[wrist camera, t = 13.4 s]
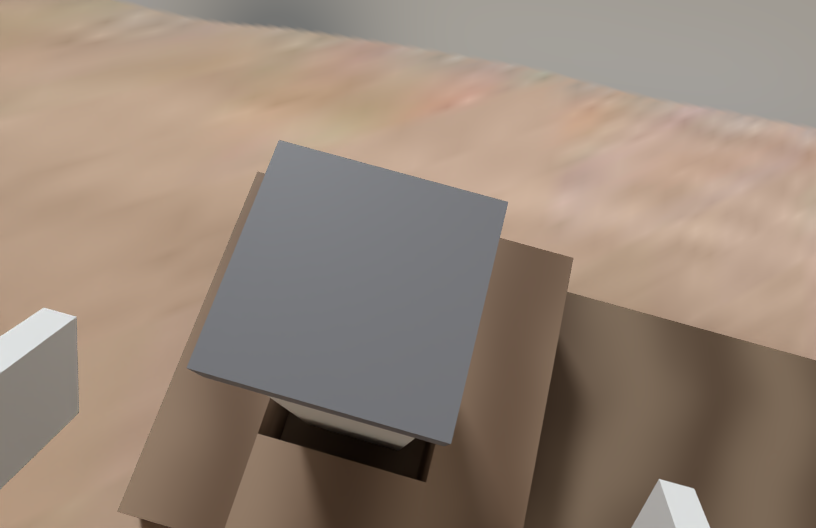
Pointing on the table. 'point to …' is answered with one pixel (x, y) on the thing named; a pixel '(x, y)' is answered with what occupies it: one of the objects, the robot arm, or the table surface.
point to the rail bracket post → (354, 297)
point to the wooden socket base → (507, 428)
